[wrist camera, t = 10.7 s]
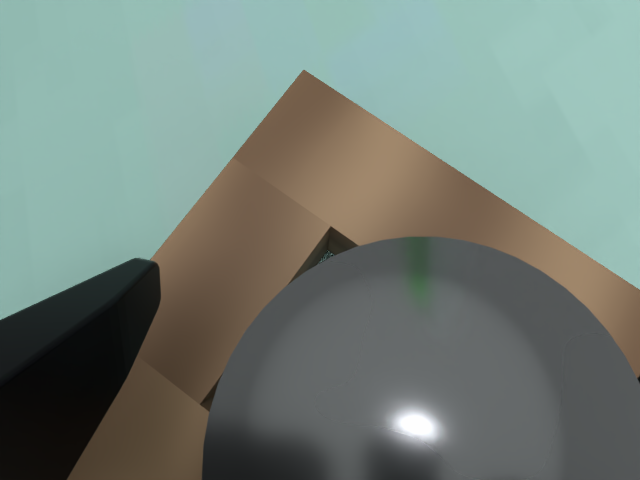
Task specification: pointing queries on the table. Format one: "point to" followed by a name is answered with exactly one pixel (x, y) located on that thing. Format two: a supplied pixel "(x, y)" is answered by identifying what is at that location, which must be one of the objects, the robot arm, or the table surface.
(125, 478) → the collar block
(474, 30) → the table surface
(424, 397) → the grey glossy round cylinder
